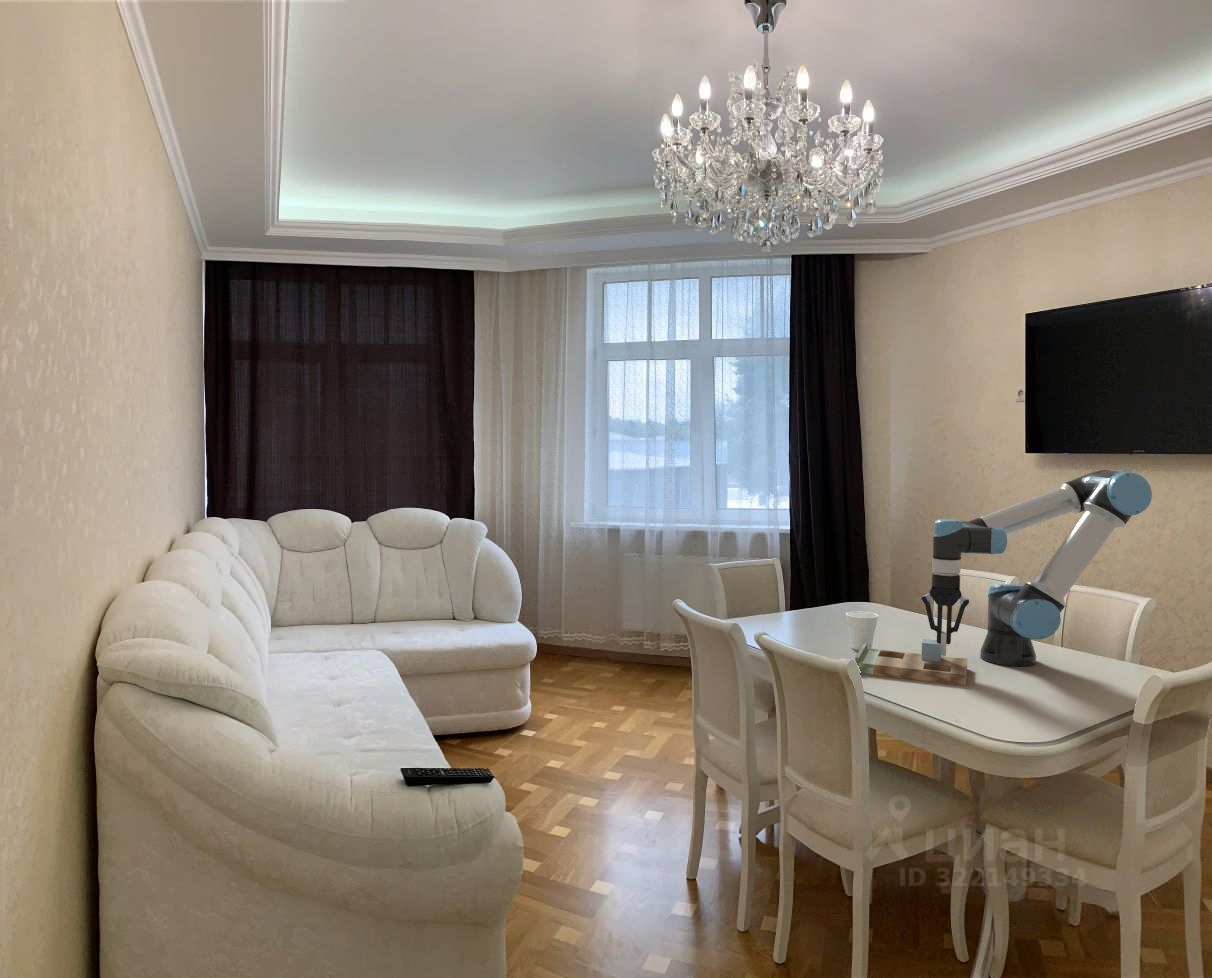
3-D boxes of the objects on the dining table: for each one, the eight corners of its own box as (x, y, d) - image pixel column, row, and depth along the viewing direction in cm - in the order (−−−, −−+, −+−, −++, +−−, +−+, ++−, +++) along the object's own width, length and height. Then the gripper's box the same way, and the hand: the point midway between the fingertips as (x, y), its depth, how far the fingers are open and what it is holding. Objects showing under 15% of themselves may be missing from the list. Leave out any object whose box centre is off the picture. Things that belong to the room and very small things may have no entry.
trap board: (967, 669, 240) (967, 653, 239) (965, 685, 223) (966, 669, 223) (863, 657, 252) (863, 643, 251) (854, 672, 235) (855, 657, 235)
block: (940, 657, 240) (941, 640, 240) (940, 661, 236) (940, 644, 236) (922, 655, 243) (923, 638, 242) (921, 659, 238) (922, 642, 238)
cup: (879, 653, 257) (880, 618, 256) (846, 651, 259) (847, 617, 258) (875, 645, 266) (876, 611, 266) (843, 644, 268) (844, 610, 268)
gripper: (970, 573, 237) (967, 654, 238) (922, 569, 242) (920, 649, 244) (970, 577, 230) (967, 660, 232) (921, 573, 236) (918, 655, 237)
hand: (943, 654), depth 238 cm, fingers closed
